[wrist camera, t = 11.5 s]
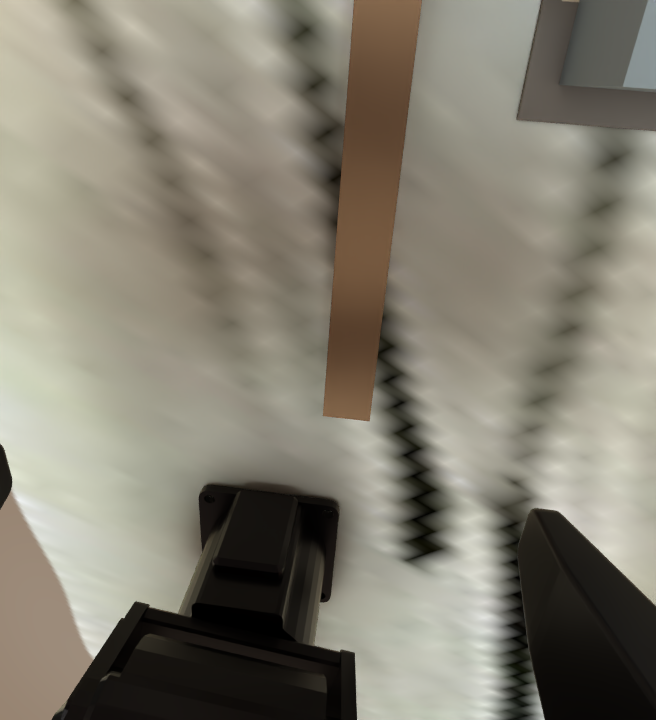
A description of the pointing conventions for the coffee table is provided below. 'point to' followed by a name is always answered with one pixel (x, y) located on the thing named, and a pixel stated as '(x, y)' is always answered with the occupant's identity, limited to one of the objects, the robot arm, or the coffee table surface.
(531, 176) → the coffee table surface
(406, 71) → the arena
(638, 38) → the cube
